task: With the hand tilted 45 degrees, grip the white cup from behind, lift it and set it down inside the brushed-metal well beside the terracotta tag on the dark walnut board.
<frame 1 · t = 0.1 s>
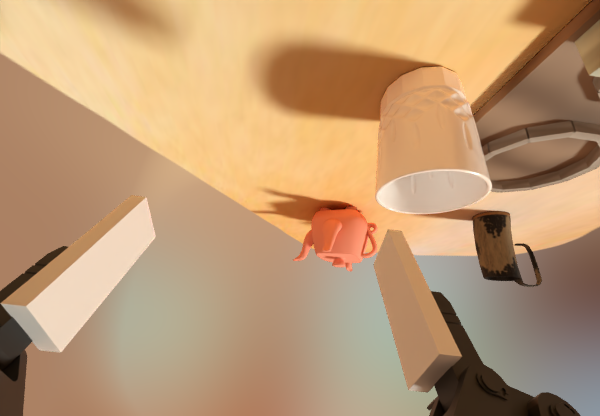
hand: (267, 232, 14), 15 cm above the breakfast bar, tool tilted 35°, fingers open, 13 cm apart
teapot: (335, 213, 53), on the breakfast bar
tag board: (582, 102, 22), on the breakfast bar
mug: (497, 215, 45), on the breakfast bar
white cup: (419, 96, 23), on the breakfast bar
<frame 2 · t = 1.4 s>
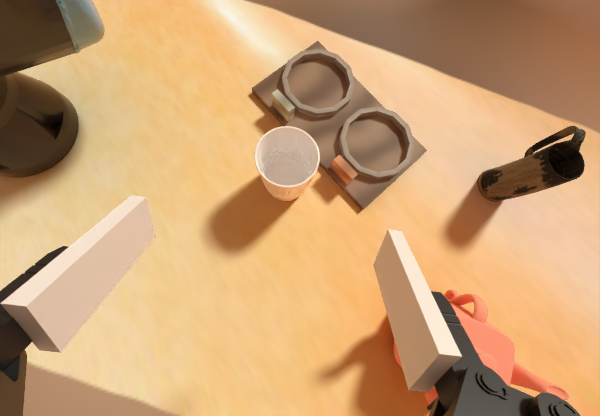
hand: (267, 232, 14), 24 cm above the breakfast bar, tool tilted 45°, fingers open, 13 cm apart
teapot: (424, 344, 37), on the breakfast bar
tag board: (338, 122, 42), on the breakfast bar
mug: (494, 180, 43), on the breakfast bar
white cup: (286, 181, 40), on the breakfast bar
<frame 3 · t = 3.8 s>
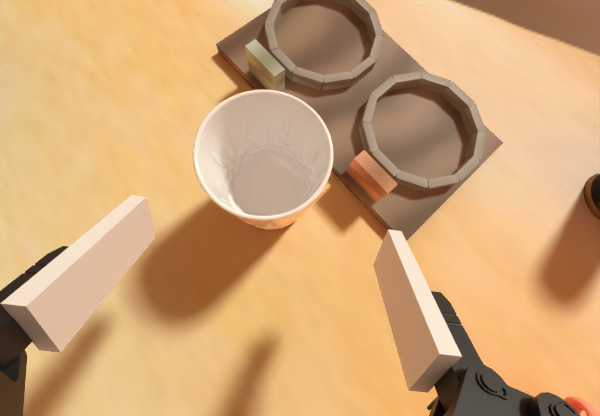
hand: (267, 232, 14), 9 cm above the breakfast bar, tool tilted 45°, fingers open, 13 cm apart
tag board: (356, 99, 26), on the breakfast bar
white cup: (272, 195, 24), on the breakfast bar
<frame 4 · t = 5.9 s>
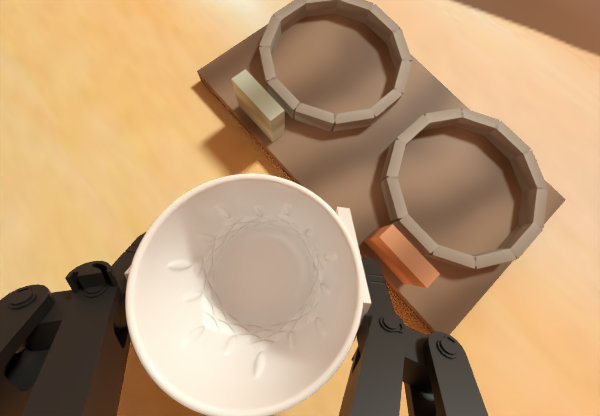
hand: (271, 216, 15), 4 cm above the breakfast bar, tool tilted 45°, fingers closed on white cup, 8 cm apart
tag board: (375, 140, 21), on the breakfast bar
white cup: (267, 271, 18), on the breakfast bar, touching gripper
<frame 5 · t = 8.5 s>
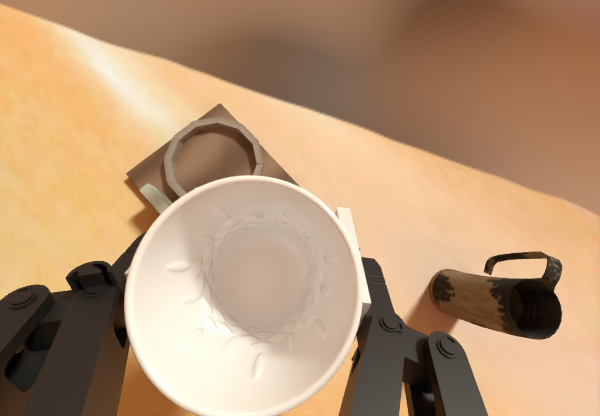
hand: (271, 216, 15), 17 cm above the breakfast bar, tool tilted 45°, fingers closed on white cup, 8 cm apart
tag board: (244, 213, 32), on the breakfast bar
mug: (451, 283, 33), on the breakfast bar
white cup: (266, 272, 18), point 13 cm above the breakfast bar, touching gripper
when the fingers open (7 cm above the breakfast bar, at t = 11.0 s): white cup drops 2 cm, resting on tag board.
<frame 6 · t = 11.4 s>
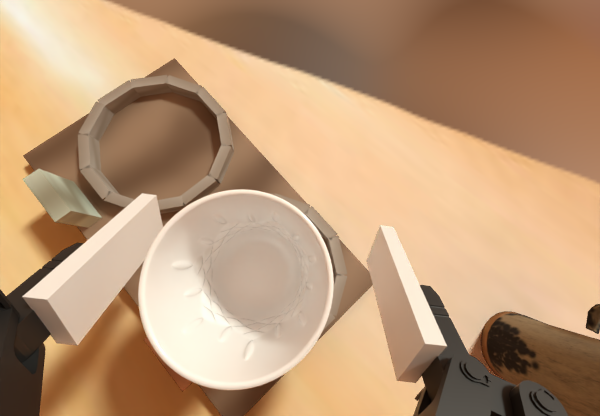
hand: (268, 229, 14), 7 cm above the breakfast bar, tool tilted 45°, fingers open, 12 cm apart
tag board: (202, 219, 21), on the breakfast bar
mug: (513, 333, 21), on the breakfast bar
white cup: (261, 271, 20), point 1 cm above the breakfast bar, touching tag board
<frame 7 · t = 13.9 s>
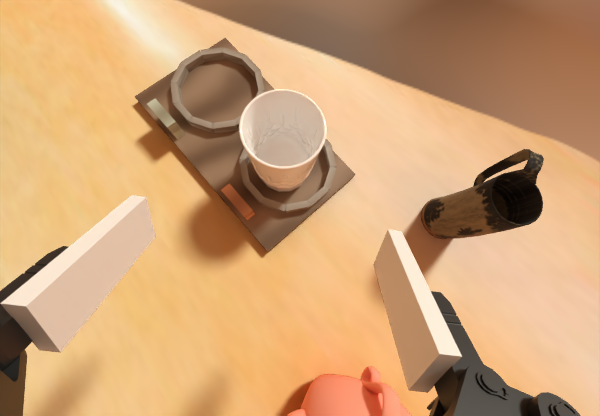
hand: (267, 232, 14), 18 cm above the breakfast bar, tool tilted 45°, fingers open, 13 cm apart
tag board: (245, 139, 34), on the breakfast bar
mug: (442, 211, 34), on the breakfast bar
white cup: (283, 167, 32), point 1 cm above the breakfast bar, touching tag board
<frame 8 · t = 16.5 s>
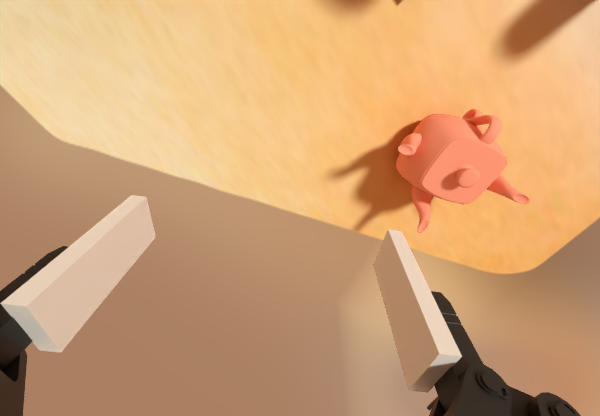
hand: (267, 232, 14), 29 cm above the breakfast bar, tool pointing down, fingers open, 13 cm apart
teapot: (427, 155, 41), on the breakfast bar
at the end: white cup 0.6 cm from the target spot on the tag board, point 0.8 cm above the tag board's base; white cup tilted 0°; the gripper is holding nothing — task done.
